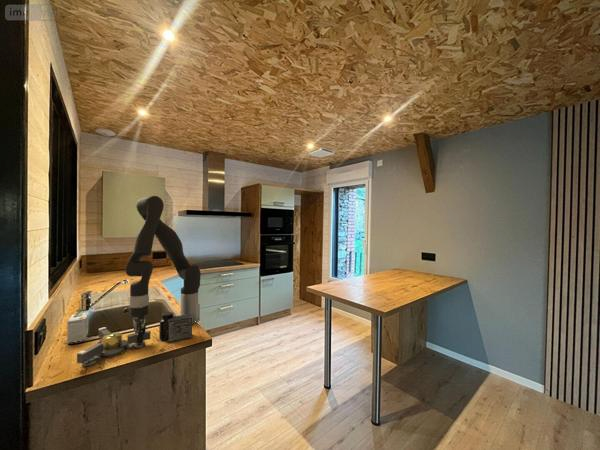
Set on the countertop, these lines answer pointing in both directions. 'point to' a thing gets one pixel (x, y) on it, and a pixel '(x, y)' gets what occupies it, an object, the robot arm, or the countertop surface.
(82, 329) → the light bulb box
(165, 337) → the supplement bottle
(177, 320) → the small box
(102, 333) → the knob side
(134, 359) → the countertop surface
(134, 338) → the knob
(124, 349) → the tribrach
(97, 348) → the knob
